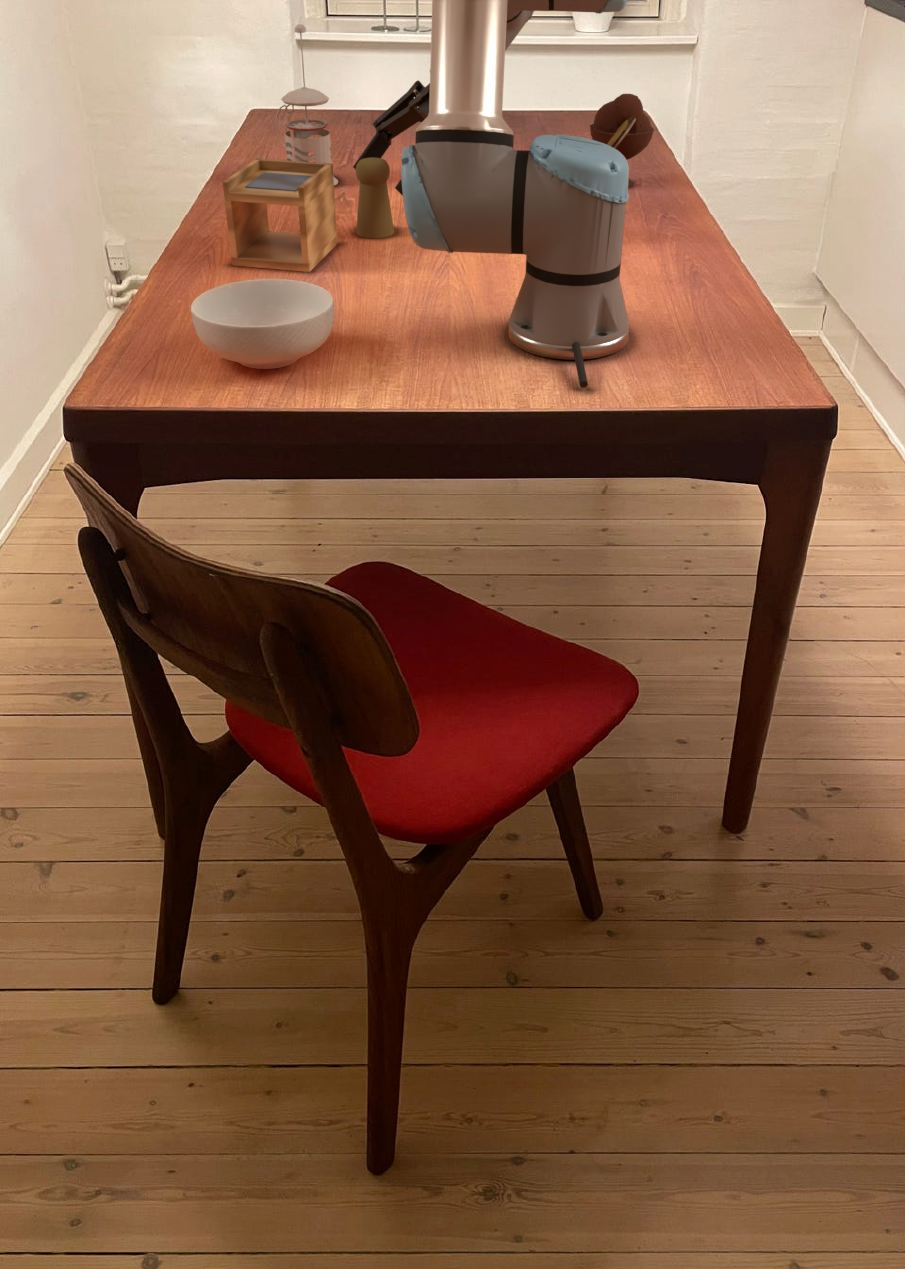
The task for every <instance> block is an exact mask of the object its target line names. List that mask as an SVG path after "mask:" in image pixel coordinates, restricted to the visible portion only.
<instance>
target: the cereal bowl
mask: <svg viewBox="0 0 905 1269" xmlns="http://www.w3.org/2000/svg"><path fill="white" fill-rule="evenodd" d="M190 315H191V319H192V323H193V327H194V329H195V333H196V335H197V337H198V339H199V340H200V341H201V343H202V344H203V345H204V346H205V347H206V348H207V349H208V350H209V351H210V352H211V353H213V354H215V355H216V356H218V357H221V358H222V359H224V360H228V361H232V362H235V363H238V364H240V365H242V366H243V367H246V368H250V369H254V370H255V369H256V370H273V369H274V370H275V369H280V368H285V367H287V366H290V365H292V364H294V363H296V362H298V361H299V360H300V359H301V358H303V357H306V356H308V355H310V354H312V353H313V352H315V351H316V350H318V349H319V348H321V346H323V344H324V343H325V342H326V341H327V339H328V338H329V336H330V334H331V333H332V330H333V327H334V323H335V300H334V296H333V295H332V293H330V291H328V290H327V289H326V288H324V287H322V286H320V285H317V284H315V283H311V282H308V281H304V280H297V279H288V278H257V279H255V278H254V279H247V280H241V281H240V280H239V281H235V282H229V283H225V284H222V285H219V286H216V287H213V288H210V289H208V290H206V291H204V292H203V293H200V295H198V296H197V297H196V298H194V299H193V301H192V303H191V305H190Z"/></svg>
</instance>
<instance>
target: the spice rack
mask: <svg viewBox="0 0 905 1269" xmlns="http://www.w3.org/2000/svg"><path fill="white" fill-rule="evenodd" d="M315 162H316V161H312V162H311V161H308V162H300V161H287V159H285V160H282V159H270V158H258V157H257V158H255V159H253V160H252V161H250V162H249V163H248V164H246V165H245V166H243V167H241V168H240V169H239V170H238V171H236V172H235V173H233V174H232V175H230V176H229V177H227V178H226V179H224V180H223V181H222V189H223V198H224V207H225V216H226V224H227V233H228V241H229V252H230V260H231V266H236V267H246V268H247V267H248V268H257V269H258V268H259V269H270V270H279V271H280V270H281V271H290V272H302V273H310V272H311V271H312V270H313V269H314V268H315V267H316V266H317V265H318V264H319V263H320V262H322V260H323V259H324V258H326V256H327V255H328V254H329V253H330V252H331V251H332V250H333V249H334V248H335V247H337V245H338V237H337V236H338V234H337V218H336V198H335V185H334V181H333V176H334V166H333V163H331V164H329V163H315ZM267 205H276V206H277V205H278V206H289V207H297V209H298V210H297V211H298V221H299V222H298V223H299V233H297V232H286V231H275V230H274V231H273V230H270V226H269V216H268V215H269V214H268V207H267Z"/></svg>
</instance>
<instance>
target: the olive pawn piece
mask: <svg viewBox="0 0 905 1269" xmlns="http://www.w3.org/2000/svg"><path fill="white" fill-rule="evenodd" d="M390 174H391V169H390V164H389V163H388V161H387V160H386V159H384V158H382V157H381V158H374V157H371V158H364V159H362V160H360V161H359V162H358V164H357V166H356V170H355V176H356V178H357V180H358V181H359V187H358V188H359V189H358V190H359V191H358V202H357V215H356V227H355V234H356V236H359V237H361V238H365V239H384V238H389V237H391V236H392V235H394V234H395V228H394V221H393V215H392V208H391V201H390V195H389V190H388V182H387V181H388V180H389V178H390Z"/></svg>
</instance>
